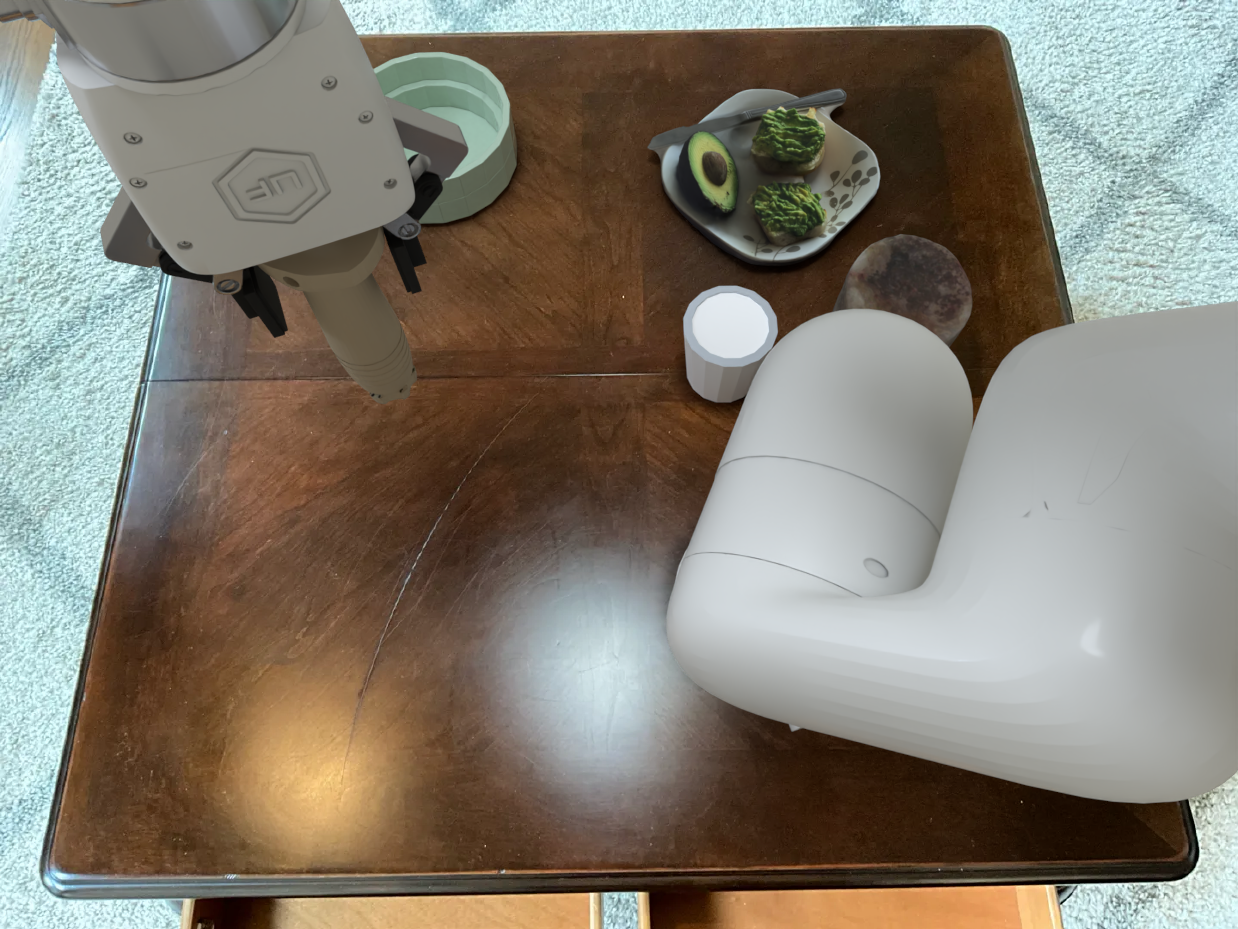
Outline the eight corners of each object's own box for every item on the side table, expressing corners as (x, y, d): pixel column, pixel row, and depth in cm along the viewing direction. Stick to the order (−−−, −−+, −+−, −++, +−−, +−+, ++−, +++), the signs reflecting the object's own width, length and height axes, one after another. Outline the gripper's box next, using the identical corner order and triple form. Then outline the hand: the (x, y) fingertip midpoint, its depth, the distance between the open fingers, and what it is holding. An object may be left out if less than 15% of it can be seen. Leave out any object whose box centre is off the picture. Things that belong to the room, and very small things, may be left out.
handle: (425, 432, 52) (351, 289, 38) (326, 403, 53) (218, 253, 39) (455, 363, 54) (394, 202, 40) (359, 336, 55) (267, 169, 41)
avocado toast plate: (773, 58, 82) (780, 16, 78) (924, 166, 77) (941, 128, 73) (623, 174, 77) (623, 136, 73) (774, 298, 72) (782, 264, 68)
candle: (879, 393, 69) (969, 233, 50) (887, 480, 66) (986, 345, 48) (781, 391, 69) (835, 231, 51) (784, 478, 66) (844, 342, 48)
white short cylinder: (782, 380, 69) (798, 334, 63) (712, 425, 68) (720, 383, 62) (730, 319, 72) (739, 268, 65) (661, 361, 70) (664, 314, 64)
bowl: (537, 200, 76) (530, 156, 71) (378, 246, 75) (359, 204, 70) (492, 84, 82) (483, 34, 77) (342, 124, 80) (323, 76, 75)
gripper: (-109, 135, 25) (184, 410, 42) (469, -23, 27) (529, 298, 44) (-123, -38, 28) (158, 285, 44) (405, -170, 30) (484, 185, 47)
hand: (341, 289), depth 44 cm, fingers closed on handle, 6 cm apart
